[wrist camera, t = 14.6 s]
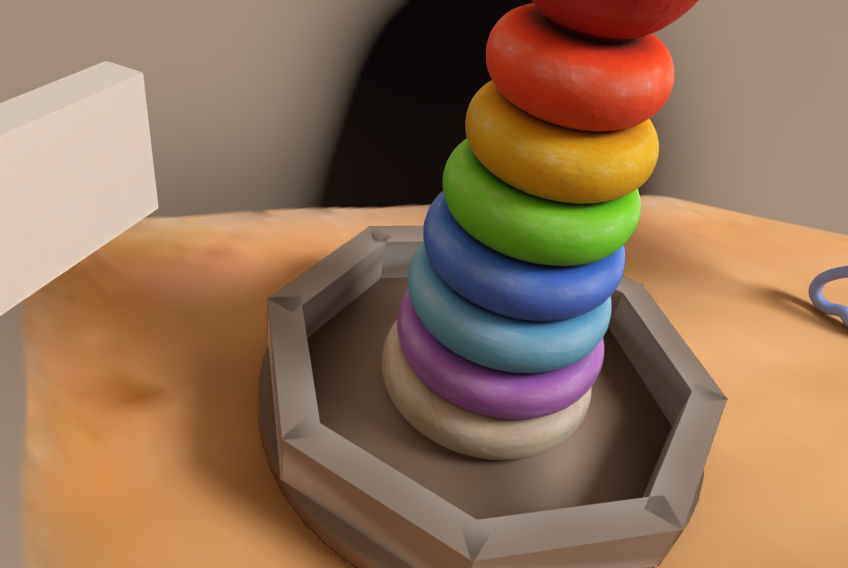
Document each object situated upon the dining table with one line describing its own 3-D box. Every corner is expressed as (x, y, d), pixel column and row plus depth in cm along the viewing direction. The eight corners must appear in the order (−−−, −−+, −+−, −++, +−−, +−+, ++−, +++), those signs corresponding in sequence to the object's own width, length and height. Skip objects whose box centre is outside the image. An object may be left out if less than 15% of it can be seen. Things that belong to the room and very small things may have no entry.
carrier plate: (584, 266, 36) (602, 218, 34) (788, 572, 23) (833, 522, 21) (249, 275, 31) (248, 220, 29) (275, 664, 19) (278, 610, 17)
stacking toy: (349, 334, 28) (419, -248, 16) (518, 304, 31) (676, -199, 19) (429, 497, 22) (617, -203, 11) (623, 440, 25) (927, -146, 14)
